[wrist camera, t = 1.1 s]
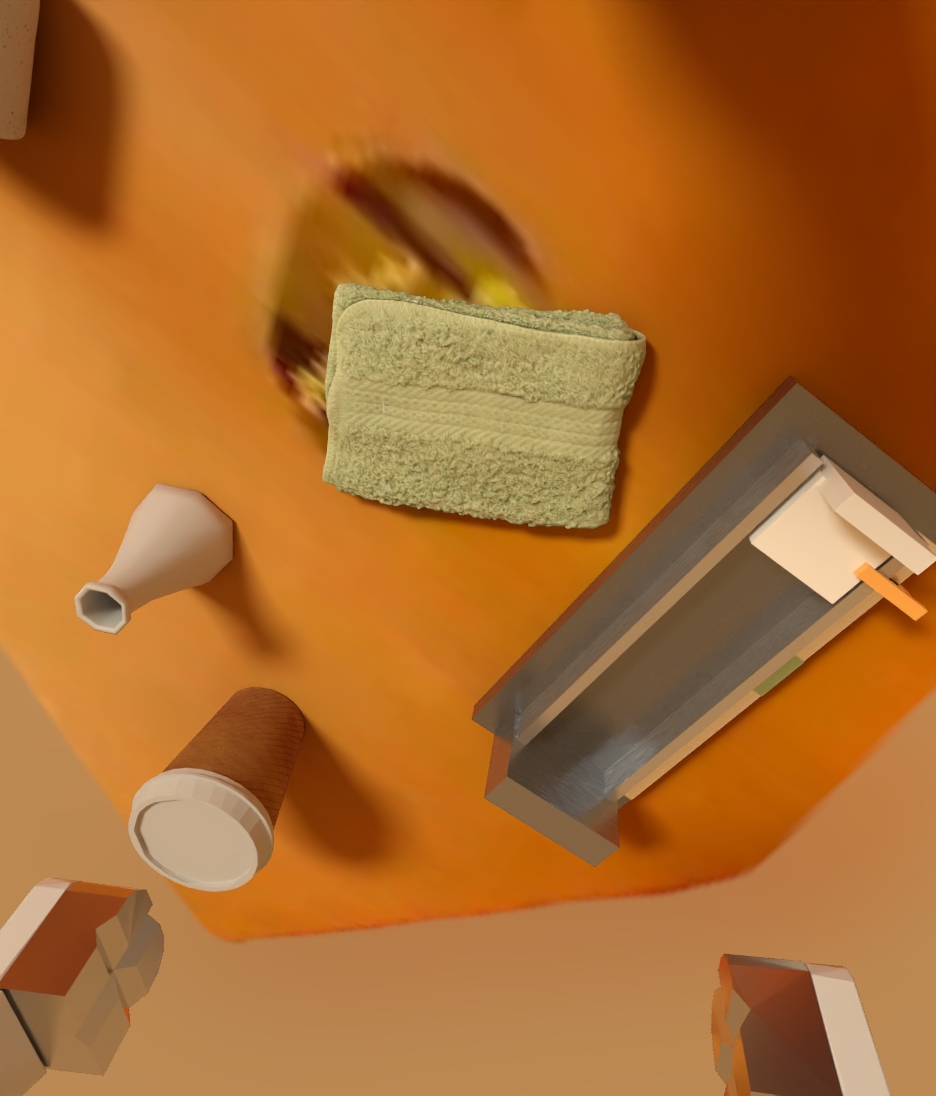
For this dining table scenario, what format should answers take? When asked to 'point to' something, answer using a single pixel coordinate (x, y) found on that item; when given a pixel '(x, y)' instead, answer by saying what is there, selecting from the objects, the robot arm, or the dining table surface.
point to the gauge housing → (680, 629)
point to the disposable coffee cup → (221, 795)
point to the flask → (159, 556)
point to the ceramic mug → (16, 63)
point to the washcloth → (477, 406)
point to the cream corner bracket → (841, 538)
